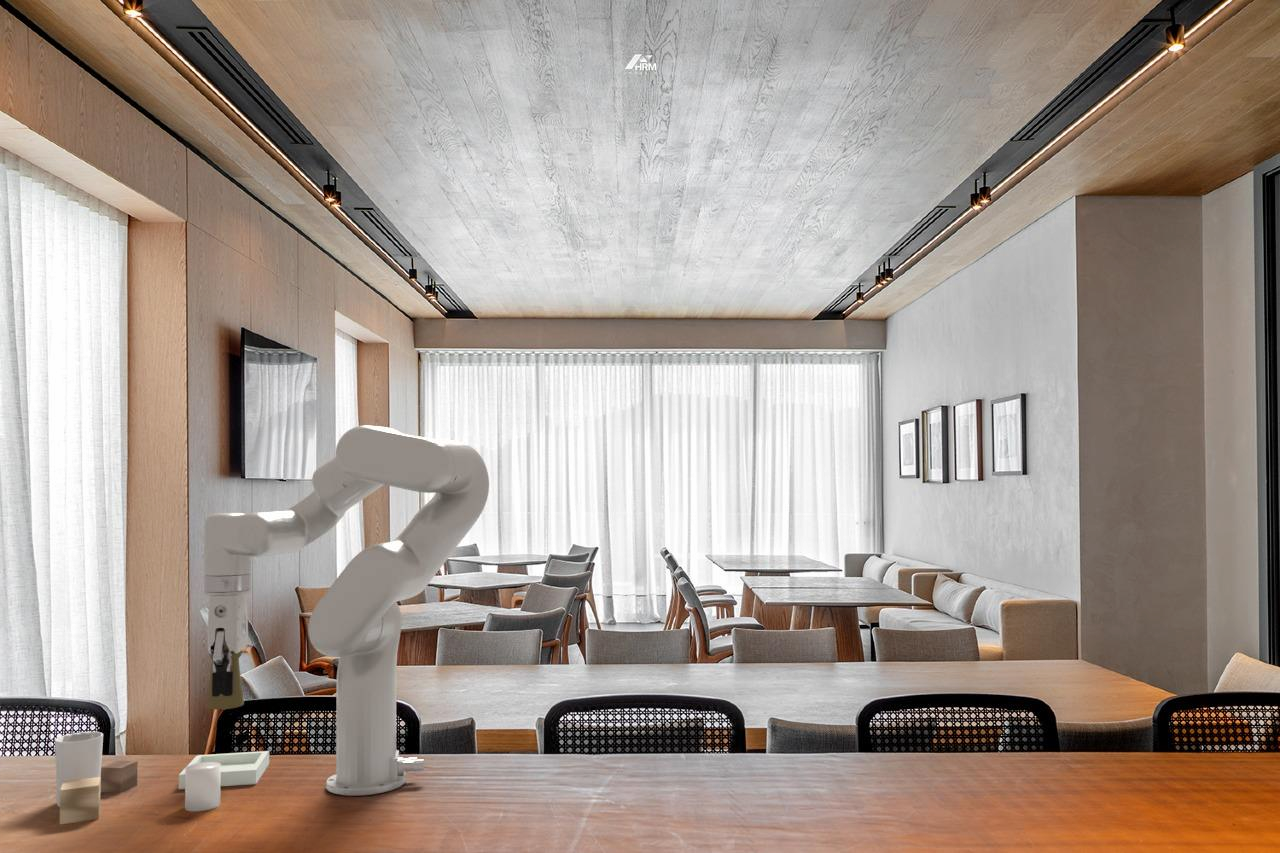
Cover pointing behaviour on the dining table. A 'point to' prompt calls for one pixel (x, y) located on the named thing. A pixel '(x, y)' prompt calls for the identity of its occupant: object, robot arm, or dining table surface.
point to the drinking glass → (77, 757)
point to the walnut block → (118, 776)
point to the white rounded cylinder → (202, 786)
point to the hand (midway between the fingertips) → (225, 691)
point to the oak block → (80, 800)
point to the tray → (234, 767)
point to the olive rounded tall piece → (237, 695)
